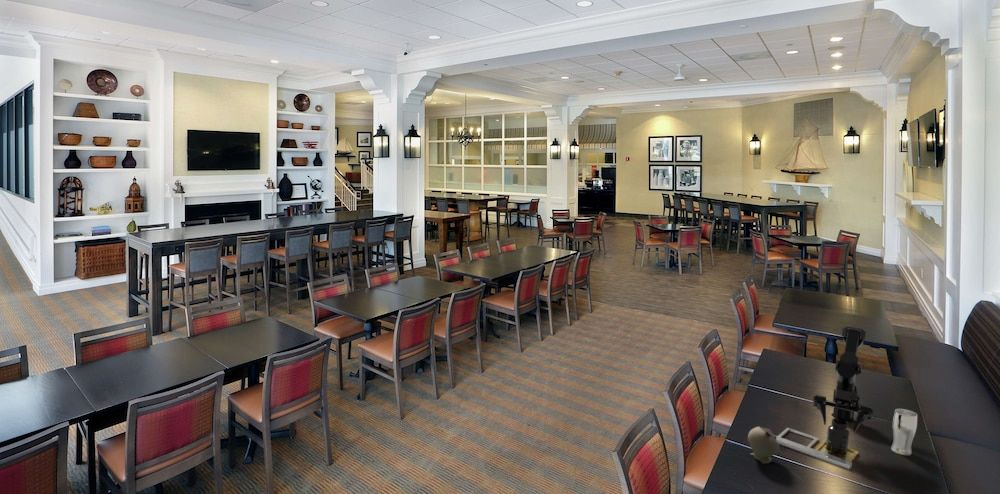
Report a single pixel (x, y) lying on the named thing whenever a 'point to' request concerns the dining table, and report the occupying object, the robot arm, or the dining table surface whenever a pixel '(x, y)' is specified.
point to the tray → (817, 450)
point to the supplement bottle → (837, 438)
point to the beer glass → (903, 431)
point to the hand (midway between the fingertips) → (839, 428)
